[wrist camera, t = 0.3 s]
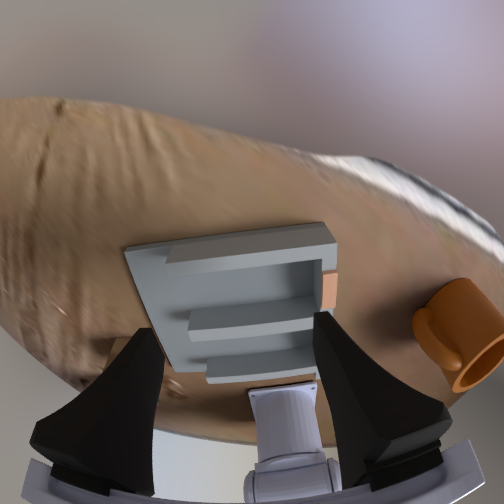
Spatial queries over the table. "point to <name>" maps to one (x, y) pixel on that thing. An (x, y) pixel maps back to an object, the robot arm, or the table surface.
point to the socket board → (239, 299)
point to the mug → (461, 333)
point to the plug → (117, 349)
